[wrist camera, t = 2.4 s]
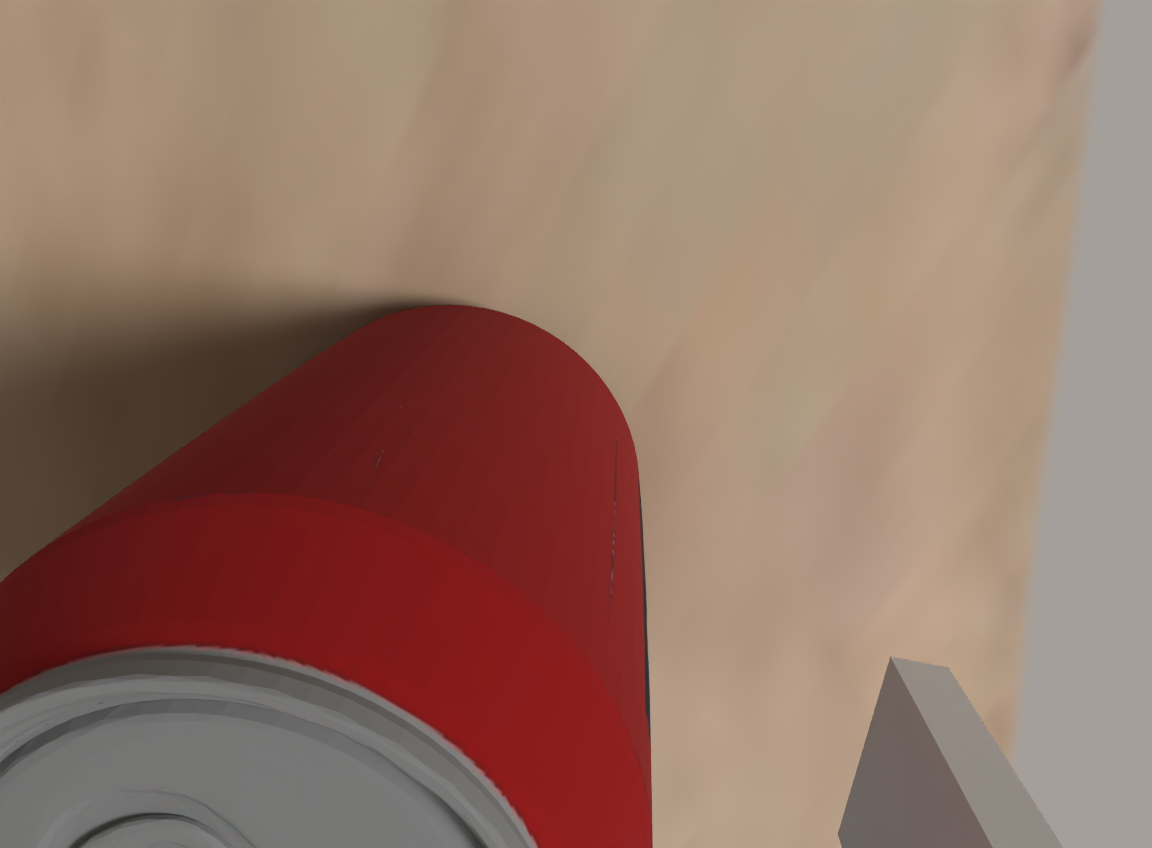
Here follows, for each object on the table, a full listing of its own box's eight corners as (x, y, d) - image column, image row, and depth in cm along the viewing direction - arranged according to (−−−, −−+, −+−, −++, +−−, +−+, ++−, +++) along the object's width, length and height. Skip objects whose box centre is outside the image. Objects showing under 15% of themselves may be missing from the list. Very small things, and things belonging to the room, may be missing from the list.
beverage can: (409, 681, 20) (119, 1404, 9) (222, 402, 19) (-431, 828, 7) (702, 537, 19) (821, 1156, 7) (527, 227, 17) (333, 399, 6)
